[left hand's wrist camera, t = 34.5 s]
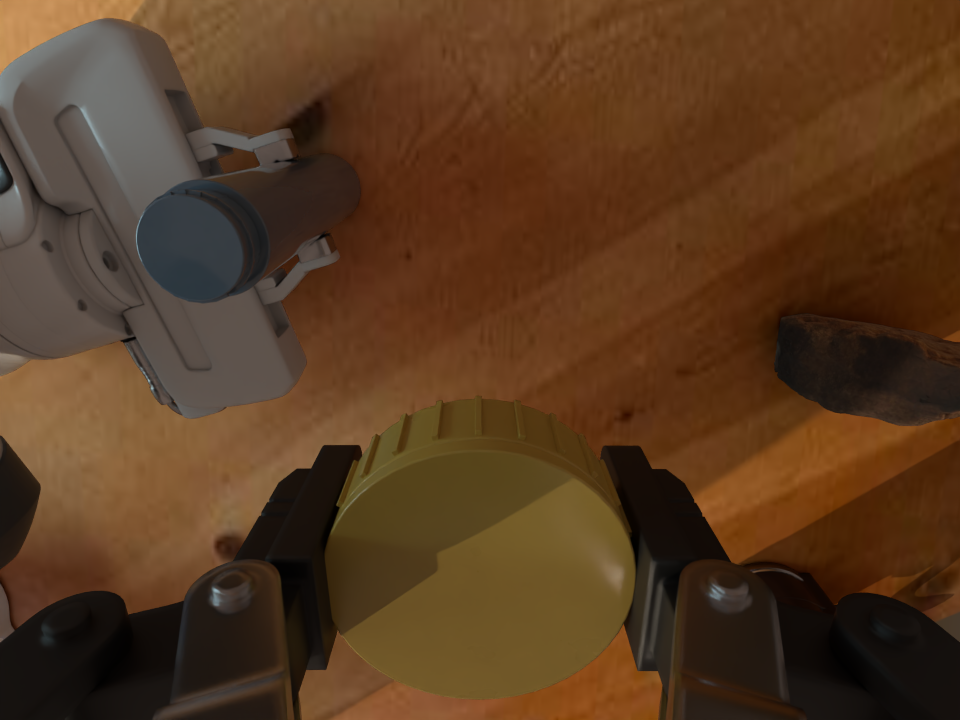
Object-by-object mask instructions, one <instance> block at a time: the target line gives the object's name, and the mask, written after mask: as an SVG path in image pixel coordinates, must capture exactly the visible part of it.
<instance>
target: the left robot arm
mask: <svg viewBox="0 0 960 720" xmlns="http://www.w3.org/2000/svg"><path fill="white" fill-rule="evenodd" d="M361 457H362V451H361V448H360V446H359V445H324V446H323V447H322V448H321V450H320V452H319V454H318V456H317V458H316V460H315V462H314V464H313V466H312V468H311V469H296V470H295V471H293V472H292V473H291V474H289V475H288V476H287V477H286V478H284V479H283V480H282V481H280V482H279V483H278V485H277V487H276V488H275V490H274V492H273V494H272V495H271V497H270V499H269V502H267V504H266V506H265V507H264V509H263V511H262V512H261V516H259V518H258V519H257V521H256V523H255V524H254V526H253V528H252V529H251V531H250V533H249V535H248V536H247V538H246V540H245V541H244V543H243V545H242V547H241V548H240V550H239V552H238V553H237V555H236V557H235V559H234V560H233V561H232V562H229V563H226V564H223V565H220V566H218V567H216V568H214V569H212V570H210V571H209V572H207V573H205V574H204V575H203V576H201V577H200V578H199V579H198V580H197V581H196V582H195V583H194V584H193V585H192V586H191V587H190V589H189V590H188V592H187V594H186V596H185V599H184V601H181V602H178V603H175V604H171V605H167V606H163V607H159V608H154V609H150V610H146V611H142V612H137V613H133V614H129V615H128V612H127V609H126V605H125V603H124V600H123V599H122V598H121V597H120V596H119V595H117V594H115V593H112V592H108V591H91V592H84V593H80V594H76V595H73V596H70V597H67V598H64V599H62V600H60V601H57V602H55V603H53V604H51V605H49V606H47V607H46V608H44V609H43V610H41V611H39V612H38V613H36V614H35V615H34V616H32V617H31V618H30V619H29V620H27V621H26V622H25V623H24V624H22V625H21V626H20V627H19V628H17V629H16V630H15V631H14V632H12V633H11V634H10V635H9V636H8V637H6V638H5V639H4V640H3V641H1V642H0V720H302V716H301V705H300V698H299V690H300V687H301V684H302V681H303V678H304V675H305V672H306V670H326V668H327V665H328V661H329V658H330V655H331V651H332V648H333V644H334V641H335V637H336V634H337V630H338V629H337V627H336V626H335V624H334V622H333V620H332V614H331V605H330V597H329V589H328V581H327V573H326V565H325V555H324V552H325V547H326V544H327V540H328V537H329V534H330V532H331V529H332V526H333V524H334V521H335V518H336V516H337V513H338V510H339V508H340V507H338V506H336V505H337V502H338V500H339V497H340V494H341V492H342V489H343V487H344V484H345V481H346V479H347V476H348V474H349V471H350V469H351V466H352V464H353V462H354V460H356V461H358V462H359V460H360V459H361ZM602 459H603V460H604V462H605V464H606V466H607V469H608V471H609V474H610V476H611V479H612V481H613V484H614V487H615V489H616V492H617V494H618V497H619V499H620V502H621V505H622V507H623V510H624V512H625V515H626V518H627V520H628V523H629V525H630V528H631V530H632V537H630V539H631V543H632V546H633V549H634V553H635V561H636V580H635V589H634V596H633V602H632V605H631V608H630V610H629V613H628V616H627V618H626V620H625V622H624V626H625V630H626V633H627V636H628V640H629V643H630V646H631V650H632V653H633V657H634V660H635V663H636V667H637V670H638V671H658V672H659V675H660V678H661V681H662V684H663V686H662V692H661V698H660V705H659V716H658V720H960V642H959V641H957V640H956V639H955V638H954V637H952V636H951V635H950V634H949V633H948V632H946V631H945V630H944V629H943V628H941V627H940V626H939V625H938V624H936V623H935V622H934V621H933V620H931V619H930V618H929V617H927V616H926V615H925V614H923V613H922V612H920V611H918V610H917V609H915V608H913V607H911V606H909V605H907V604H905V603H903V602H901V601H898V600H896V599H893V598H890V597H887V596H883V595H879V594H873V593H853V594H850V595H847V596H845V597H843V598H842V599H841V600H840V601H839V602H838V605H833V603H832V602H831V601H830V599H829V598H828V597H827V595H826V594H825V593H824V591H823V590H822V589H821V587H820V586H819V585H818V583H817V582H816V581H815V579H814V578H813V577H812V575H811V574H810V573H797V572H796V571H795V570H793V569H791V568H789V567H787V566H784V565H781V564H776V563H754V564H749V565H745V566H740V565H737V564H734V563H731V561H730V559H729V558H728V556H727V554H726V553H725V551H724V549H723V547H722V546H721V544H720V542H719V541H718V539H717V537H716V536H715V534H714V532H713V531H712V529H711V527H710V526H709V524H708V522H707V520H706V519H705V517H702V512H701V510H700V509H699V507H698V505H697V504H696V503H694V499H693V497H692V495H691V494H690V492H689V490H688V488H687V487H686V485H685V483H683V482H682V481H681V480H679V479H678V478H677V477H676V476H674V475H673V474H672V473H670V472H669V471H668V470H666V469H652V468H651V466H650V464H649V462H648V460H647V458H646V456H645V455H644V453H643V451H642V449H641V447H640V446H603V448H602V451H601V457H600V460H602Z"/></svg>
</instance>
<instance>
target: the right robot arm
mask: <svg viewBox="0 0 960 720" xmlns="http://www.w3.org/2000/svg"><path fill="white" fill-rule="evenodd" d="M232 147H233V148H237V149H242V150H246V151H250V152H255V155H256V157H257V159H258V161H259V164H260V166H262V165H267V164H271V163H276V162H281V161H287V160H291V159H295V158H298V157H301V156H300V154H299V151H298V148H297V145H296V143H295V140H294V137H293V134H292V132H291V130H290V128H286V129H280V130H276V131H272V132H269V133H266V134H263V135H260V136H258V135H254V134H250V133H246V132H242V131H238V130H234V129H230V128H226V127H205V128H204V127H203V124H202V122H201V120H200V118H199V115H198V113H197V111H196V109H195V106H194V104H193V102H192V100H191V97H190V95H189V93H188V91H187V88H186V86H185V84H184V82H183V79H182V77H181V75H180V73H179V70H178V68H177V66H176V63H175V61H174V59H173V57H172V54H171V52H170V50H169V48H168V45H167V43H166V42H165V40H164V39H163V38H162V37H161V36H160V35H158V34H156V33H154V32H152V31H150V30H148V29H146V28H144V27H142V26H140V25H137V24H135V23H132V22H129V21H125V20H121V19H114V18H104V19H99V20H95V21H92V22H89V23H86V24H84V25H81V26H79V27H76V28H74V29H72V30H69V31H67V32H65V33H62V34H60V35H58V36H56V37H54V38H52V39H50V40H48V41H46V42H44V43H43V44H41V45H39V46H37V47H35V48H33V49H32V50H30V51H28V52H27V53H25V54H23V55H22V56H20V57H19V58H17V59H16V60H14V61H13V62H12V63H10V64H9V65H8V66H7V67H6V68H5V69H4V71H3V72H2V73H1V75H0V376H3V375H5V374H8V373H11V372H13V371H15V370H16V369H18V368H20V367H21V366H23V365H24V364H26V363H27V362H28V361H30V360H33V359H35V360H48V359H57V358H63V357H67V356H70V355H74V354H77V353H81V352H84V351H87V350H91V349H94V348H98V347H101V346H104V345H108V344H111V343H114V342H117V341H121V342H123V343H124V345H125V347H126V348H127V350H128V352H129V354H130V355H131V357H132V359H133V361H134V362H135V364H136V365H137V367H138V368H139V370H140V371H141V372H142V373H143V375H144V376H145V378H146V380H147V381H148V383H149V385H150V390H151V392H152V394H153V395H154V397H155V398H156V400H157V401H158V402H159V403H160V404H161V405H166V404H167V405H168V406H169V407H170V408H171V409H172V410H173V411H175V412H176V413H178V414H180V415H182V416H184V417H185V418H190V419H194V418H199V417H203V416H206V415H210V414H214V413H217V412H220V411H222V410H224V409H225V408H226V407H230V406H238V405H245V404H251V403H257V402H262V401H267V400H271V399H275V398H279V397H282V396H284V395H286V394H287V393H288V392H289V391H290V390H291V389H292V388H293V387H294V386H295V384H296V383H297V382H298V380H299V378H300V377H301V375H302V373H303V371H304V368H305V366H306V363H307V360H306V357H305V354H304V352H303V350H302V347H301V345H300V343H299V341H298V338H297V336H296V334H295V332H294V329H293V327H292V325H291V323H290V320H289V318H288V316H287V314H286V311H285V309H284V307H283V305H282V302H281V300H283V299H284V298H285V297H286V296H288V295H289V294H290V293H291V292H292V291H293V290H294V289H295V288H296V287H297V285H298V284H299V283H300V282H301V281H302V280H303V278H304V277H305V276H306V275H307V274H308V273H309V271H310V270H313V269H317V268H320V267H323V266H327V265H330V264H332V263H334V262H336V261H337V260H338V259H339V258H340V255H339V253H338V250H337V247H336V245H335V242H334V240H333V237H332V235H331V233H327V234H324V235H322V236H321V237H320V238H318V239H317V240H316V241H314V242H313V243H311V244H310V245H309V246H307V247H306V248H305V249H303V250H302V251H301V252H299V253H298V254H297V255H298V257H299V260H300V261H299V262H298V263H297V264H296V266H295V267H294V268H293V269H292V270H291V271H290V272H289V274H288V275H287V274H286V271H285V270H284V269H283V268H282V269H278V270H275V271H274V272H272V273H271V274H270V275H268V276H267V277H266V278H264V279H263V280H261V281H260V282H259V283H257V284H256V285H255V286H253V287H252V288H251V289H249V290H248V291H246V292H244V293H241V294H238V295H235V296H230V297H227V298H224V299H222V300H220V301H217V302H211V303H203V304H202V303H196V302H188V301H186V300H184V299H181V298H178V297H175V296H174V295H173V294H171V293H169V292H168V291H166V290H165V289H163V288H161V286H160V285H159V284H158V283H157V282H155V281H154V280H153V278H152V277H151V276H150V275H149V274H148V272H147V271H146V269H145V268H144V266H143V264H142V262H141V260H140V257H139V254H138V251H137V245H136V231H137V226H138V222H139V219H140V218H141V216H142V214H143V212H144V210H145V208H146V207H147V206H148V205H149V204H150V203H151V202H152V201H153V200H155V199H156V198H157V197H159V196H161V195H163V194H165V192H166V191H168V190H169V189H170V188H172V187H173V186H175V185H177V184H179V183H182V182H185V181H189V180H194V179H199V178H203V177H208V176H213V175H218V174H223V173H224V172H223V169H222V167H221V165H220V163H219V160H218V159H219V158H222V157H225V156H228V155H231V154H233V152H234V151H233V149H232ZM174 401H175V402H174ZM40 490H41V486H40V483H39V482H38V481H37V480H36V478H35V477H34V476H33V475H32V473H31V472H30V471H29V470H28V468H27V467H26V466H25V465H24V463H23V462H22V461H21V459H20V458H19V457H18V456H17V454H16V453H15V452H14V451H13V449H12V448H11V447H10V446H9V444H8V443H7V442H6V441H5V439H4V438H3V437H2V436H0V569H1V568H3V567H4V566H5V565H7V564H8V563H9V562H10V561H11V560H13V559H14V558H15V557H16V555H17V554H18V553H19V551H20V549H21V547H22V545H23V543H24V541H25V539H26V537H27V534H28V532H29V529H30V527H31V524H32V521H33V518H34V515H35V511H36V508H37V504H38V499H39V495H40ZM14 631H15V630H14V629H13V627H12V626H11V622H10V614H9V604H8V600H7V597H6V594H5V592H4V589H3V587H2V586H1V584H0V642H1V641H3V640H4V639H5V638H6V637H8V636H9V635H10V634H11V633H12V632H14Z"/></svg>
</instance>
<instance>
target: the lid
mask: <svg viewBox="0 0 960 720" xmlns="http://www.w3.org/2000/svg"><path fill="white" fill-rule="evenodd" d="M336 506H338V507H340V508H339V510H338V513H337V516H336V518H335V521H334V524H333V526H332V529H331V532H330V534H329V537H328V540H327V544H326V547H325V552H324V555H325V565H326V573H327V581H328V589H329V597H330V605H331V614H332V620H333V622H334V624H335V626H336V627H337V629H338V631H339V633H340V634H341V635H342V637H343V638H344V639H345V641H346V642H347V643H348V644H349V646H350V647H351V648H352V649H353V650H354V651H355V652H356V653H357V654H358V655H359V656H360V657H361V658H362V659H363V660H365V661H366V662H367V663H369V664H370V665H371V666H372V667H374V668H375V669H376V670H378V671H380V672H381V673H383V674H385V675H386V676H388V677H390V678H391V679H394V680H396V681H398V682H400V683H402V684H404V685H406V686H409V687H412V688H415V689H418V690H421V691H423V692H427V693H431V694H436V695H440V696H445V697H452V698H460V699H499V698H505V697H512V696H518V695H522V694H526V693H530V692H534V691H537V690H540V689H543V688H546V687H548V686H551V685H553V684H555V683H558V682H560V681H562V680H564V679H566V678H568V677H570V676H571V675H573V674H575V673H576V672H578V671H579V670H581V669H583V668H584V667H585V666H587V665H588V664H589V663H590V662H592V661H593V660H594V659H595V658H597V657H598V656H599V655H600V654H601V653H602V652H603V651H604V650H605V649H606V648H607V647H608V646H609V644H610V643H611V642H612V640H613V639H614V638H615V636H616V635H617V634H618V632H619V631H620V629H621V627H622V625H623V623H624V622H625V620H626V618H627V616H628V613H629V610H630V608H631V605H632V602H633V596H634V589H635V580H636V561H635V553H634V549H633V546H632V543H631V539H630V537H632V530H631V528H630V525H629V523H628V520H627V518H626V515H625V512H624V510H623V507H622V505H621V502H620V499H619V497H618V494H617V492H616V489H615V487H614V484H613V481H612V479H611V476H610V474H609V471H608V469H607V466H606V464H605V462H604V460H603V459H602V460H600V461H599V460H598V459H597V457H596V456H595V454H594V453H593V451H592V450H591V448H590V447H589V446H588V444H587V441H586V438H585V436H584V435H583V434H582V433H580V434H579V435H577V434H576V433H575V432H573V431H572V430H571V429H570V428H568V427H567V426H566V425H564V424H563V423H561V422H559V421H558V420H557V417H556V415H555V414H553V413H550V415H547V414H545V413H542V412H540V411H538V410H536V409H533V408H530V407H527V406H524V405H521V401H518V400H515V401H514V403H512V402H507V401H501V400H491V399H482V396H475V399H468V400H457V401H452V402H446V403H443V401H442V400H440V401H437V402H436V405H435V406H432V407H428V408H425V409H422V410H420V411H418V412H416V413H414V414H411V415H409V416H408V415H407V414H406V413H405V414H404V415H402V416H401V419H400V421H399V422H397V423H396V424H394V425H392V426H391V427H390V428H389V429H387V430H386V431H385V432H384V433H382V434H381V435H380V436H378V435H377V434H375V435H374V436H373V437H372V440H371V443H370V446H369V448H368V449H367V450H366V451H365V453H364V454H363V456H362V457H361V459H360V460H359V462H358V461H356V460H354V462H353V464H352V466H351V469H350V471H349V474H348V476H347V479H346V481H345V484H344V487H343V489H342V492H341V494H340V497H339V500H338V502H337V505H336Z"/></svg>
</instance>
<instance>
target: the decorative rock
mask: <svg viewBox="0 0 960 720" xmlns="http://www.w3.org/2000/svg"><path fill="white" fill-rule="evenodd" d="M774 365H775V372H778V374H777V376H778V378H779V379H781V380H782V381H784V382H785V383H786V384H787V385H788V386H789V387H790V388H791V389H793V390H794V391H796V392H797V393H798V394H799V395H802V396H803V397H805V398H806V399H809V400H812V401H815V402H818V403H819V404H820V405H821V406H822V407H824V408H825V409H827V410H830V411H832V412H835V413H846V414H851V415H857V416H864V417H872V418H876V419H880V420H883V421H886V422H888V423H892V424H895V425H899V426H919V425H923V424H925V423H929V422H932V421H936V420H944V419H948V418H949V419H952V418H956V417H960V342H952V341H948V340H943V339H941V338H938V337H935V336H933V335H929V334H926V333H922V332H918V331H913V330H906V329H901V328H894V327H888V326H884V325H879V324H873V323H866V322H859V321H848V320H843V319H838V318H830V317H823V316H818V315H813V314H797V315H791V316H786V317H782V318H781V321H780V327H779V333H778V340H777V350H776V356H775V362H774Z"/></svg>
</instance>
